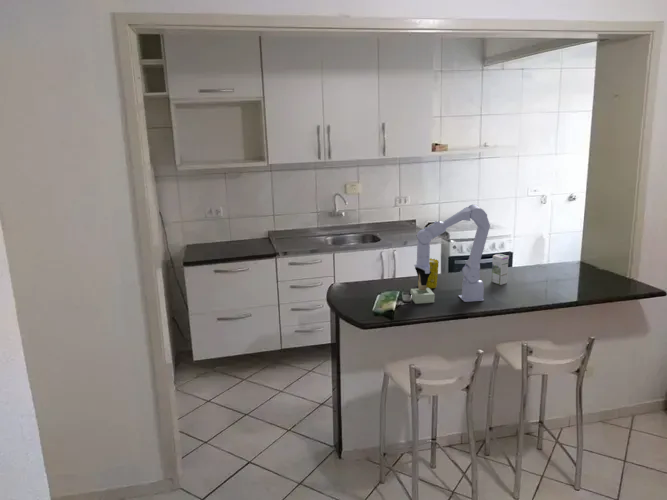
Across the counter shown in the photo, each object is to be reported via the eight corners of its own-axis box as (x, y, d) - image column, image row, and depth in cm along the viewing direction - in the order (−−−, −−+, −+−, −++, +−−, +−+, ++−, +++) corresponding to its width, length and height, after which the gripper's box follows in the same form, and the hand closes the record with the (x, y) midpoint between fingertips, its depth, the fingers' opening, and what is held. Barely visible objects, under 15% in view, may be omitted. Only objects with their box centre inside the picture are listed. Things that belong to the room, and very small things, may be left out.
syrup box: (507, 283, 269) (509, 255, 265) (499, 285, 265) (501, 257, 261) (498, 280, 273) (500, 253, 269) (490, 282, 270) (492, 255, 266)
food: (414, 290, 265) (426, 286, 272) (434, 290, 257) (445, 286, 264) (410, 260, 264) (422, 257, 271) (430, 259, 256) (441, 256, 263)
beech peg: (425, 287, 249) (425, 271, 247) (427, 290, 246) (427, 273, 243) (417, 287, 249) (418, 271, 247) (419, 290, 245) (419, 274, 243)
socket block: (428, 295, 254) (428, 287, 252) (434, 302, 245) (434, 294, 244) (410, 296, 253) (410, 288, 251) (415, 303, 244) (415, 295, 243)
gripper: (410, 251, 249) (409, 279, 253) (419, 260, 236) (418, 289, 239) (425, 251, 250) (424, 278, 254) (434, 259, 236) (433, 288, 240)
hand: (422, 283), depth 247 cm, fingers closed on beech peg, 4 cm apart
